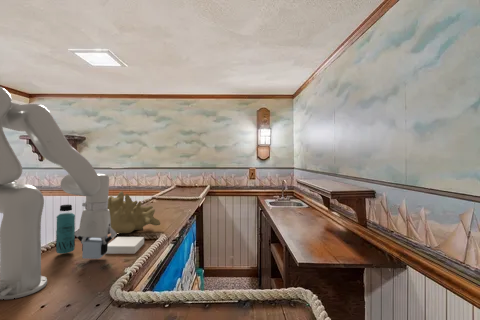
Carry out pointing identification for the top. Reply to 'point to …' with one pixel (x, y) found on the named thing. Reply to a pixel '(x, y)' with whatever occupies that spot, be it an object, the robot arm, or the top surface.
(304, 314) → the top surface
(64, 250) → the beverage bottle
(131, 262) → the top surface
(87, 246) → the grey-blue cube
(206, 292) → the top surface
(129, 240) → the pedestal
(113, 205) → the decorative coral
